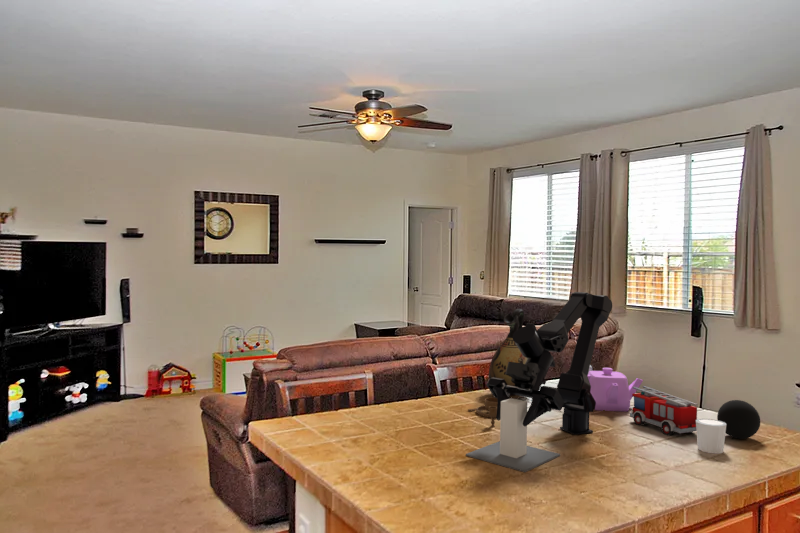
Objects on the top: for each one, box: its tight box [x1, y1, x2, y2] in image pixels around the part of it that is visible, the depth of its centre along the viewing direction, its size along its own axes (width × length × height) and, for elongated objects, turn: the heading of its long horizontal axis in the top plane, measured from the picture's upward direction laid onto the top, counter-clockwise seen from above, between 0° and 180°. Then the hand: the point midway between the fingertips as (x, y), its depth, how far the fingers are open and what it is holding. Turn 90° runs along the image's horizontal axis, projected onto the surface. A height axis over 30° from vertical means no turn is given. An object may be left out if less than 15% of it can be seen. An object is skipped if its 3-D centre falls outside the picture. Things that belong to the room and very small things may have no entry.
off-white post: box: [499, 398, 528, 458], centre depth 142 cm, size 4×4×12 cm
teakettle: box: [588, 367, 644, 412], centre depth 194 cm, size 17×17×12 cm
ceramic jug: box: [488, 308, 528, 399], centre depth 208 cm, size 17×15×30 cm
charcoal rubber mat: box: [465, 440, 561, 473], centre depth 143 cm, size 16×16×1 cm
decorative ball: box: [716, 399, 761, 440], centre depth 160 cm, size 10×10×10 cm
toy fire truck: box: [629, 385, 698, 436], centre depth 168 cm, size 9×19×10 cm, turn 22°
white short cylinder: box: [696, 418, 726, 454], centre depth 149 cm, size 7×7×7 cm
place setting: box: [467, 396, 498, 428], centre depth 179 cm, size 18×20×6 cm
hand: (510, 422), depth 141 cm, fingers open, 7 cm apart
